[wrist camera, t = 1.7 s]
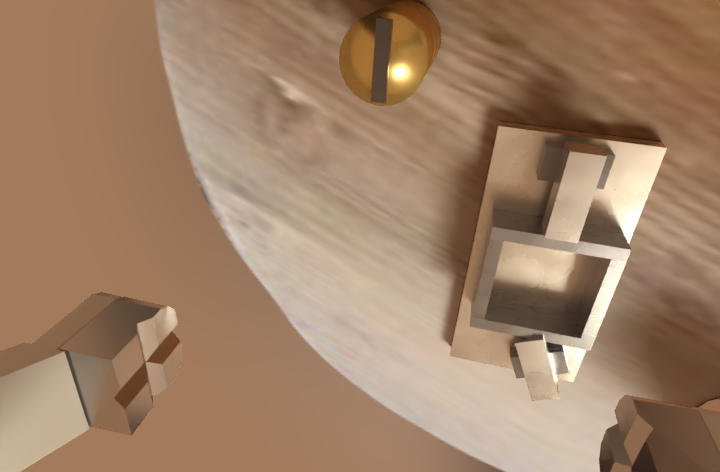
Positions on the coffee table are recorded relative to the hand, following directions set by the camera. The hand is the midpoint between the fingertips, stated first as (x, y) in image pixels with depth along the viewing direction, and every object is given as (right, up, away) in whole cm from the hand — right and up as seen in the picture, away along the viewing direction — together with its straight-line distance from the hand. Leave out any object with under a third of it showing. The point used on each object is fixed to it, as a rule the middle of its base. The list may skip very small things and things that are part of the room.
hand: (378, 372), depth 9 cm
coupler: (+2, +14, +19) cm, 24 cm away
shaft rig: (+12, +1, +24) cm, 27 cm away
